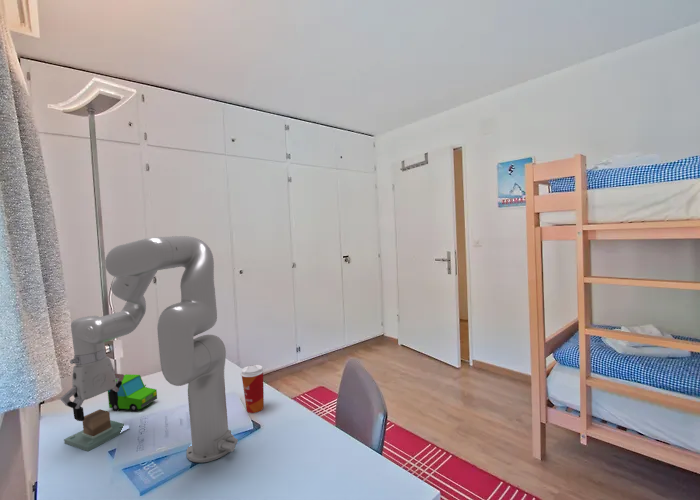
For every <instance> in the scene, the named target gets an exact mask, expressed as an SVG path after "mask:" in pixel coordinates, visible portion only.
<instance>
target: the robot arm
mask: <svg viewBox="0 0 700 500" xmlns="http://www.w3.org/2000/svg"><path fill="white" fill-rule="evenodd" d="M104 264H105V269H106V272H108V274H109V275H110V276H113V277H115V278H114V281H113V282H112V284H111V288H110V289H111V292H112V294H113V295H114V296H115V297H117V298H118V299H120V300H122V301H124V302H126V303H125V305H124V306H123V308H122V309H121V310H120V311H117V312H114V313H110V314H106V315H101V316H99V315H90V316H89V315H88V316H82V317H78V318H76V319H74V320H72V322H71V323H70V330H71V338H72V345H73V346H72V347H73V353H74V355H73V358H72V359H69V362H70V364H71V365H72V364H75V365H73V368H72V376H71V378H72V379H71V385H72V388H70V389H69V390H68V391H67V392H65V393H64V395H62V396H61V397H60V401H61V402H62V403H63V404H64V405H65V406H66V407H69V408H71V409H72V411H73V412H72V413H73V419H75V420H76V422H77V421H78V422H83V420H84V416H85V413H84V407H82V405H83V403H84V401H85V400H86V401H87V400H89V399H92V398H94V397H97V396H99V395H103V393H107V392H108V391H109V390H110V392H109V400H108V403H109V402H110V404H111V405H118V393H117V392H118V391H119V388H120V386H121V384H122V381H123V378H124V375H125V374H124V373H123V374H122V373H115V370H114V366H113V363H112V360H111V358H110V356H107V355H106V344H105V343H107V342H110V341H113V340H114V339H117V338H120V337H124V336H127V335H130V334H131V333H133V332H134V331H135V330H136V329H137V328H138V326H139V324H141V321H142V320H143V318H144V316H145V314H146V310H147V306H146V305H147V302H146V299H145V296H144V295H145V293H146V292H147V290H148V289H149V286H150V285H151V283H152V281H153V279H154V278H155V276H156V275H157V273H158V271H161V270H162V271H163V270H169V269H175V268H176V269H177V268H184V271H183V273H182V275H181V278H180V286H179V287H180V288H179V289H180V294H181V295H180V299H181V300H180V302H177V303H172V304H171V305H169V306H166V307H165V308H164V309H163V310H162V312H161V313H160V315H159V317H158V321H157V338H158V339H157V340H158V341H157V342H158V350H159V351H158V352H159V359H160V360H159V362H160V368H161V371H162V375H163V377H164V379H165V381H167V382H168V384H170V385H172V386H176V387H179V386H184V385H187V400H188V410H189V411H188V413H189V421H190V422H189V424H190V425H189V426H190V438H191V443H192V446H190V447H189V446H187V449H186V452H185V453H186V458H187V460H189V461H191V462H193V463H200V464H201V463H207V462H212V461H216V460H217V459H221V458H222V457H224V456H226V455H227V454H229V453H230V452H234V451H235V450H236V445H238V442H239V439H238V438H236V437H235V436H234V435H233V434H232V430H231V429H229V423H228V422H229V420H228V408H227V398H226V382H225V366H226V357H227V353H226V352H227V350H226V345H225V343H224V342H223V340H222V338H220V337H219V336H217V335H215V334H203V333H204V332H207V331H209V330H211V329H212V328H213V327H215V325H216V323H217V320H218V319H217V318H218V309H217V299H216V298H217V297H216V287H215V271H214V270H215V269H214V268H215V265H214V264H215V262H214V255H213V253H212V250H211V248H210V247H209V244H207V243H206V242H204V241H203V240H202V239H199V238H197V237H194V236H186V235H184V236H183V235H180V236H177V235H175V236H174V235H173V236H154V237H147V238H143V239H139V240H136V241H132V242H128V243H122V244H119V245H117V246H115V247H113V248H111V249H110V250H109V252H108V253H107V255H106V257H105V262H104ZM201 334H203V335H201ZM198 335H200V336H198ZM196 336H197V337H196ZM194 337H195V338H194ZM116 379H117V381H116ZM71 397H73V398H74V399H73V401H72V400H70V398H71Z"/></svg>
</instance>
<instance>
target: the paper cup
mask: <svg viewBox="0 0 700 500" xmlns="http://www.w3.org/2000/svg"><path fill="white" fill-rule="evenodd" d="M264 372H265V369H264V368H263V366H262V365H260V364H255V365H250V366H248V365H247V366H245V367H243V368H242V369H241V373H240V376H241V380H242V387H243V395H244V400H245V403H244V404H245V408H246V412H247V413H249V414H255V413H259V412H261V411H262V410H263V409H264V405H265V404H264V400H265V399H264V395H265V393H264Z"/></svg>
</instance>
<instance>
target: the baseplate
mask: <svg viewBox="0 0 700 500" xmlns="http://www.w3.org/2000/svg"><path fill="white" fill-rule="evenodd" d="M110 423H111V428H109V429H107V430H105V431H103V432H101V433H99V434H97V435H95V436H91V435H88V434H85V433H84V431H83V429H82V430H81V431H80V430H79V432H76V433H75V434H72V435H71V436H68V437H66V438H63V442H64V444H65V445H68V446H72V447H75V448H77V449H79V450H80V449H81V450H83V451H86V452H90V451H91V450H93V449H95V448H97V447H99V446H101V445H103V444H105V443H106V442H108V441H110V440H112V439H113V438H115V437H118V436H120V435H121V434H120V432H121V430H122V428H123V426H124V424H125V423H123V422H118V421H115V420H111V419H110Z"/></svg>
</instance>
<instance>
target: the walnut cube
mask: <svg viewBox="0 0 700 500" xmlns="http://www.w3.org/2000/svg"><path fill="white" fill-rule="evenodd" d="M110 420H111V414H110V411H107V410H104V409H97V410H96V411H93V412H91V413H88V414H86V415H84V420H83V421H82V428H83V429H82V430H83V431H84V433H85V434H88V435H91V436H95V435H97V434H99V433H101V432H103V431H105V430H107V429H109V428H111V423H110Z"/></svg>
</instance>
